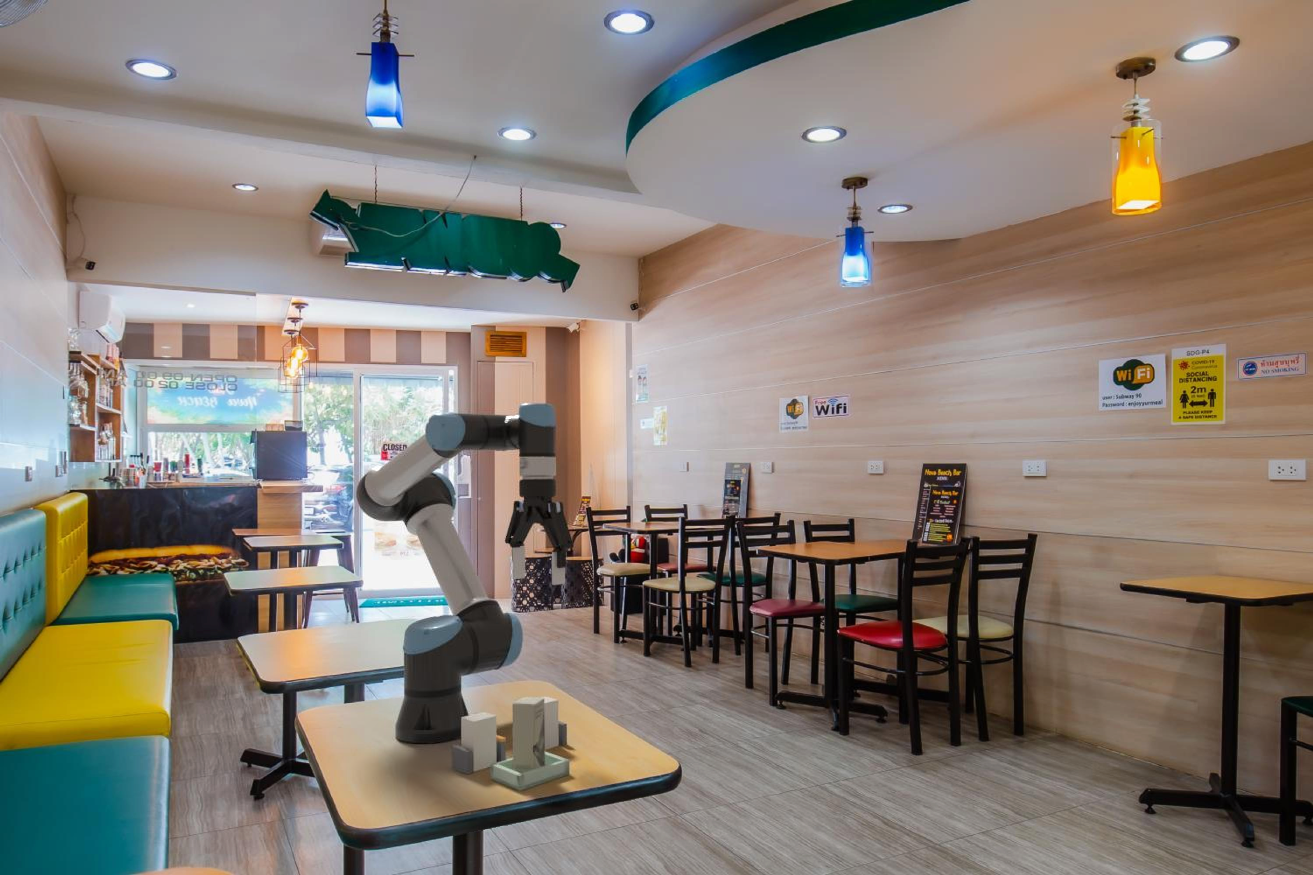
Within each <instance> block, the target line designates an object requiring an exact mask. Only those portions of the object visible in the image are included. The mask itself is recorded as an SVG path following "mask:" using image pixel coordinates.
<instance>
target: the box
mask: <svg viewBox="0 0 1313 875" xmlns="http://www.w3.org/2000/svg"><path fill="white" fill-rule="evenodd" d="M544 722H545V721H544V698H541V697H534V696H523V697H521V698H520V699H517V700H516V701H515V702H512V758H513V770H514V771H517V772H519V773H525V772H528V771H531V770H534V769H537V768H540V767H543V766H545V752H546V750H545V725H544Z"/></svg>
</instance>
